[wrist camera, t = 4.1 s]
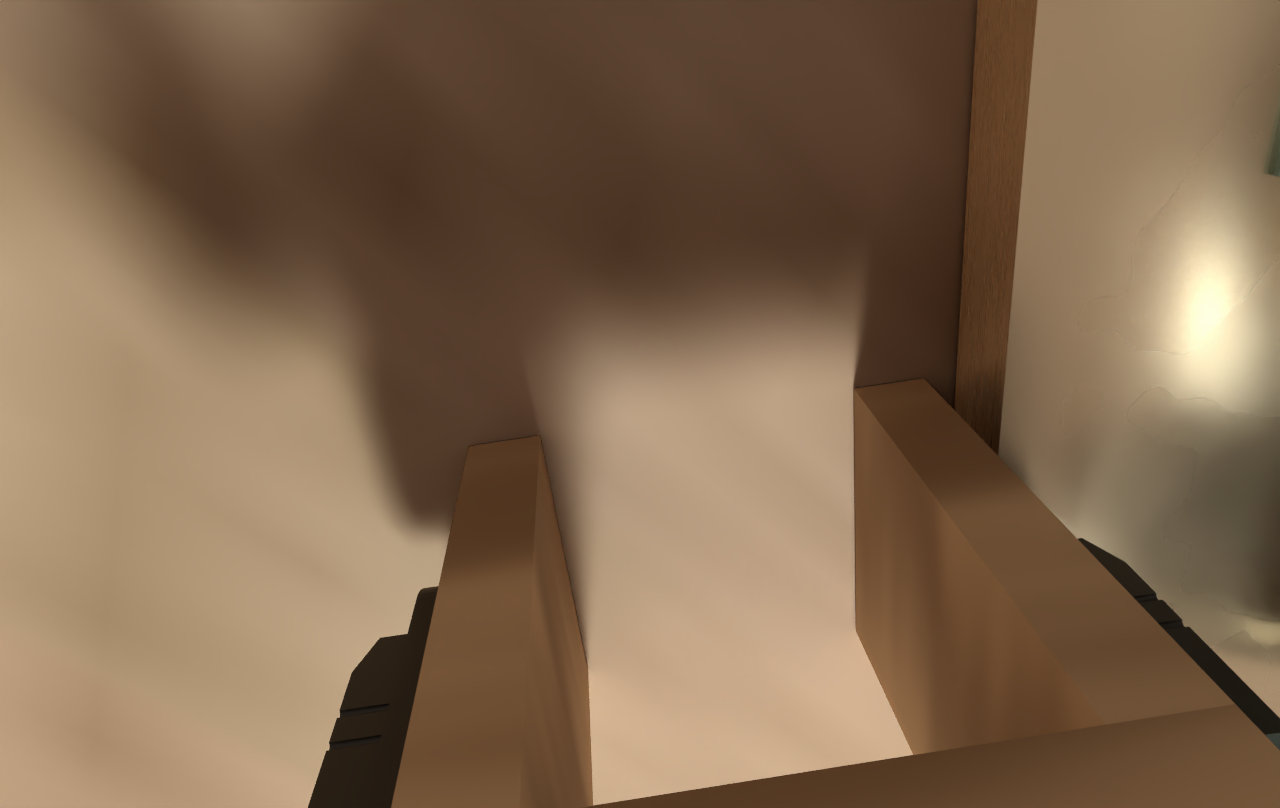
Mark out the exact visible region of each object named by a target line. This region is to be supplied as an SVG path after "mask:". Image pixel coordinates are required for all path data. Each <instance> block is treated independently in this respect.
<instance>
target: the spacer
mask: <svg viewBox="0 0 1280 808" xmlns="http://www.w3.org/2000/svg"><path fill="white" fill-rule="evenodd" d="M854 455H855V568H856V632H857V634H858V636H859V638H860V641H861V643H862V645H863V647H864V649H865V651H866V654H867V656H868V658H869V660H870V662H871V664H872V666H873V669H874V671H875V673H876V675H877V677H878V679H879V682H880V684H881V686H882V688H883V690H884V692H885V694H886V697H887V699H888V701H889V703H890V705H891V707H892V710H893V712H894V714H895V716H896V718H897V720H898V722H899V725H900V727H901V729H902V731H903V733H904V735H905V738H906V740H907V742H908V744H909V746H910V748H911V750H912V753H913V755H911V756H904V757H898V758H892V759H885V760H879V761H873V762H866V763H860V764H854V765H847V766H841V767H835V768H828V769H822V770H816V771H809V772H803V773H797V774H790V775H784V776H778V777H771V778H765V779H759V780H753V781H746V782H740V783H734V784H727V785H721V786H715V787H708V788H702V789H696V790H689V791H683V792H677V793H670V794H664V795H658V796H651V797H645V798H639V799H632V800H626V801H620V802H613V803H607V804H601V805H594V806H593V792H592V764H591V737H590V709H589V681H588V669H587V664H586V659H585V654H584V650H583V645H582V640H581V635H580V630H579V625H578V620H577V615H576V610H575V605H574V600H573V596H572V591H571V586H570V581H569V576H568V571H567V566H566V561H565V556H564V551H563V546H562V542H561V537H560V532H559V527H558V522H557V517H556V512H555V507H554V502H553V497H552V492H551V488H550V483H549V478H548V473H547V468H546V463H545V458H544V453H543V448H542V443H541V438H540V436H534V437H527V438H520V439H514V440H507V441H500V442H494V443H487V444H480V445H473V446H469V447H468V451H467V456H466V461H465V465H464V470H463V475H462V479H461V484H460V489H459V493H458V498H457V503H456V507H455V512H454V517H453V521H452V526H451V531H450V535H449V540H448V545H447V549H446V554H445V559H444V563H443V568H442V573H441V577H440V582H439V587H438V591H437V596H436V601H435V605H434V610H433V615H432V619H431V624H430V629H429V633H428V638H427V643H426V647H425V652H424V657H423V661H422V666H421V671H420V675H419V680H418V685H417V689H416V694H415V699H414V703H413V708H412V712H411V717H410V722H409V726H408V731H407V736H406V740H405V745H404V750H403V754H402V759H401V764H400V768H399V773H398V778H397V782H396V787H395V792H394V796H393V801H392V806H391V808H1280V750H1279V749H1278V748H1277V747H1276V746H1275V745H1274V744H1273V743H1272V742H1271V741H1270V740H1269V739H1268V738H1267V737H1266V736H1265V735H1264V734H1263V733H1262V732H1261V730H1260V729H1259V728H1258V727H1257V726H1256V725H1255V724H1254V723H1253V722H1252V721H1251V720H1250V719H1249V718H1248V717H1247V716H1246V715H1245V714H1244V713H1243V712H1242V711H1241V710H1240V708H1239V707H1238V706H1237V705H1236V704H1235V703H1234V702H1233V701H1232V700H1231V699H1230V698H1229V697H1228V696H1227V695H1226V694H1225V693H1224V692H1223V691H1222V690H1221V689H1220V688H1219V687H1218V685H1217V684H1216V683H1215V682H1214V681H1213V680H1212V679H1211V678H1210V677H1209V676H1208V675H1207V674H1206V673H1205V672H1204V671H1203V670H1202V669H1201V668H1200V667H1199V666H1198V665H1197V664H1196V662H1195V661H1194V660H1193V659H1192V658H1191V657H1190V656H1189V655H1188V654H1187V653H1186V652H1185V651H1184V650H1183V649H1182V648H1181V647H1180V646H1179V645H1178V644H1177V643H1176V642H1175V640H1174V639H1173V638H1172V637H1171V636H1170V635H1169V634H1168V633H1167V632H1166V631H1165V630H1164V629H1163V628H1162V627H1161V626H1160V625H1159V624H1158V623H1157V622H1156V621H1155V620H1154V619H1153V617H1152V616H1151V615H1150V614H1149V613H1148V612H1147V611H1146V610H1145V609H1144V608H1143V607H1142V606H1141V605H1140V604H1139V603H1138V602H1137V601H1136V600H1135V599H1134V598H1133V597H1132V595H1131V594H1130V593H1129V592H1128V591H1127V590H1126V589H1125V588H1124V587H1123V586H1122V585H1121V584H1120V583H1119V582H1118V581H1117V580H1116V579H1115V578H1114V577H1113V576H1112V575H1111V574H1110V572H1109V571H1108V570H1107V569H1106V568H1105V567H1104V566H1103V565H1102V564H1101V563H1100V562H1099V561H1098V560H1097V559H1096V558H1095V557H1094V556H1093V555H1092V554H1091V553H1090V552H1089V551H1088V549H1087V548H1086V547H1085V546H1084V545H1083V544H1082V543H1081V542H1080V541H1079V540H1078V539H1077V538H1076V537H1075V536H1074V535H1073V534H1072V533H1071V532H1070V531H1069V530H1068V529H1067V527H1066V526H1065V525H1064V524H1063V523H1062V522H1061V521H1060V520H1059V519H1058V518H1057V517H1056V516H1055V515H1054V514H1053V513H1052V512H1051V511H1050V510H1049V509H1048V508H1047V507H1046V506H1045V504H1044V503H1043V502H1042V501H1041V500H1040V499H1039V498H1038V497H1037V496H1036V495H1035V494H1034V493H1033V492H1032V491H1031V490H1030V489H1029V488H1028V487H1027V486H1026V485H1025V484H1024V483H1023V481H1022V480H1021V479H1020V478H1019V477H1018V476H1017V475H1016V474H1015V473H1014V472H1013V471H1012V470H1011V469H1010V468H1009V467H1008V466H1007V465H1006V464H1005V463H1004V462H1003V461H1002V459H1001V458H1000V457H999V456H998V455H997V454H996V453H995V452H994V451H993V450H992V449H991V448H990V447H989V446H988V445H987V444H986V443H985V442H984V441H983V440H982V439H981V438H980V436H979V435H978V434H977V433H976V432H975V431H974V430H973V429H972V428H971V427H970V426H969V425H968V424H967V423H966V422H965V421H964V420H963V419H962V418H961V417H960V416H959V414H958V413H957V412H956V411H955V410H954V409H953V408H952V407H951V406H950V405H949V404H948V403H947V402H946V401H945V400H944V399H943V398H942V397H941V396H940V395H939V394H938V393H937V391H936V390H935V389H934V388H933V387H932V386H931V385H930V384H929V383H928V382H927V381H926V380H925V379H924V378H923V379H916V380H909V381H903V382H896V383H889V384H882V385H876V386H869V387H862V388H856V389H854Z"/></svg>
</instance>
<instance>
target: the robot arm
mask: <svg viewBox="0 0 1280 808" xmlns="http://www.w3.org/2000/svg"><path fill="white" fill-rule="evenodd" d="M1078 540H1079V541H1080V542H1081V543H1082V544H1083V545H1084V546H1085V547H1086V548H1087V549H1088V551H1089V552H1090V553H1091V554H1092V555H1093V556H1094V557H1095V558H1096V559H1097V560H1098V561H1099V562H1100V563H1101V564H1102V565H1103V566H1104V567H1105V568H1106V569H1107V570H1108V571H1109V572H1110V574H1111V575H1112V576H1113V577H1114V578H1115V579H1116V580H1117V581H1118V582H1119V583H1120V584H1121V585H1122V586H1123V587H1124V588H1125V589H1126V590H1127V591H1128V592H1129V593H1130V594H1131V595H1132V597H1133V598H1134V599H1135V600H1136V601H1137V602H1138V603H1139V604H1140V605H1141V606H1142V607H1143V608H1144V609H1145V610H1146V611H1147V612H1148V613H1149V614H1150V615H1151V616H1152V617H1153V619H1154V620H1155V621H1156V622H1157V623H1158V624H1159V625H1160V626H1161V627H1162V628H1163V629H1164V630H1165V631H1166V632H1167V633H1168V634H1169V635H1170V636H1171V637H1172V638H1173V639H1174V640H1175V642H1176V643H1177V644H1178V645H1179V646H1180V647H1181V648H1182V649H1183V650H1184V651H1185V652H1186V653H1187V654H1188V655H1189V656H1190V657H1191V658H1192V659H1193V660H1194V661H1195V662H1196V664H1197V665H1198V666H1199V667H1200V668H1201V669H1202V670H1203V671H1204V672H1205V673H1206V674H1207V675H1208V676H1209V677H1210V678H1211V679H1212V680H1213V681H1214V682H1215V683H1216V684H1217V685H1218V687H1219V688H1220V689H1221V690H1222V691H1223V692H1224V693H1225V694H1226V695H1227V696H1228V697H1229V698H1230V699H1231V700H1232V701H1233V702H1234V703H1235V704H1236V705H1237V706H1238V707H1239V708H1240V710H1241V711H1242V712H1243V713H1244V714H1245V715H1246V716H1247V717H1248V718H1249V719H1250V720H1251V721H1252V722H1253V723H1254V724H1255V725H1256V726H1257V727H1258V728H1259V729H1260V730H1261V732H1262V733H1263V734H1264V735H1265V736H1266V737H1267V738H1268V739H1269V740H1270V741H1271V742H1272V743H1273V744H1274V745H1275V746H1276V747H1277V748H1278V749H1279V750H1280V718H1279V717H1278V716H1277V715H1276V714H1275V713H1274V712H1273V711H1272V710H1271V709H1270V708H1269V707H1268V706H1267V705H1266V704H1265V703H1264V702H1263V701H1262V700H1261V699H1260V697H1259V696H1258V695H1257V694H1256V693H1255V692H1254V691H1253V690H1252V689H1251V688H1250V687H1249V686H1248V685H1247V684H1246V683H1245V682H1244V681H1243V680H1242V679H1241V678H1240V677H1239V676H1238V675H1237V674H1236V673H1235V672H1234V671H1233V670H1232V669H1231V668H1230V667H1229V666H1228V665H1227V664H1226V663H1225V662H1224V661H1223V660H1222V659H1221V658H1220V657H1219V656H1218V655H1217V654H1216V653H1215V652H1214V651H1213V650H1212V649H1211V648H1210V647H1209V646H1208V645H1207V644H1206V643H1205V642H1204V641H1203V640H1202V639H1201V638H1200V637H1199V636H1198V635H1197V634H1196V633H1195V632H1194V631H1193V630H1192V629H1191V628H1190V627H1185V626H1184V625H1183V622H1182V619H1181V618H1180V617H1179V616H1178V615H1177V614H1176V613H1175V612H1174V611H1173V610H1172V609H1171V608H1170V607H1169V606H1168V604H1167V603H1166V602H1165V601H1164V600H1158V599H1157V596H1156V592H1155V591H1154V590H1153V589H1152V588H1151V587H1150V586H1149V585H1148V584H1147V583H1146V582H1145V581H1144V580H1143V579H1142V578H1141V577H1140V576H1139V575H1138V574H1137V573H1136V572H1135V571H1134V570H1133V569H1132V568H1131V567H1130V566H1129V565H1128V564H1127V563H1126V562H1125V561H1123V560H1121V559H1119V558H1117V557H1116V556H1114V555H1112V554H1110V553H1108V552H1107V551H1105V550H1103V549H1101V548H1099V547H1098V546H1096V545H1094V544H1092V543H1090V542H1089V541H1087V540H1085V539H1083V538H1078ZM438 587H439V586H437V587H430V588H423V589H421V590H420V592H419V593H418V596H417V600H416V603H415V607H414V611H413V615H412V619H411V623H410V627H409V631H408V634H404V635H397V636H390V637H384V638H380V639H379V640H378V641H377V642H376V644H375V645H374V646H373V647H372V649H371V650H370V651H369V652H368V653H367V655H366V656H365V657H364V658H363V660H362V661H361V662H360V663H359V665H358V666H357V667H356V668H355V670H354V671H353V672H352V674H351V677H350V680H349V683H348V686H347V689H346V692H345V696H344V699H343V702H342V705H341V708H340V718H337V720H336V723H335V726H334V729H333V732H332V735H331V738H330V741H329V744H330V749H329V751H326V754H325V757H324V760H323V763H322V766H321V769H320V772H319V775H318V778H317V781H316V784H315V787H314V790H313V793H312V796H311V800H310V803H309V806H308V808H391V806H392V801H393V796H394V792H395V787H396V782H397V778H398V773H399V768H400V764H401V759H402V754H403V750H404V745H405V740H406V736H407V731H408V726H409V722H410V717H411V712H412V708H413V703H414V699H415V694H416V689H417V685H418V680H419V675H420V671H421V666H422V661H423V657H424V652H425V647H426V643H427V638H428V633H429V629H430V624H431V619H432V615H433V610H434V605H435V601H436V596H437V591H438Z"/></svg>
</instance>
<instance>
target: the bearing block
mask: <svg viewBox="0 0 1280 808" xmlns="http://www.w3.org/2000/svg"><path fill="white" fill-rule="evenodd" d="M954 410H955V411H956V412H957V413H958V414H959V416H960V417H961V418H962V419H963V420H964V421H965V422H966V423H967V424H968V425H969V426H970V427H971V428H972V429H973V430H974V431H975V432H976V433H977V434H978V435H979V436H980V438H981V439H982V440H983V441H984V442H985V443H986V444H987V445H988V446H989V447H990V448H991V449H992V450H993V451H994V452H995V453H996V454H997V455H998V456H999V457H1000V458H1001V459H1002V461H1003V462H1004V463H1005V464H1006V465H1007V466H1008V467H1009V468H1010V469H1011V470H1012V471H1013V472H1014V473H1015V474H1016V475H1017V476H1018V477H1019V478H1020V479H1021V480H1022V481H1023V483H1024V484H1025V485H1026V486H1027V487H1028V488H1029V489H1030V490H1031V491H1032V492H1033V493H1034V494H1035V495H1036V496H1037V497H1038V498H1039V499H1040V500H1041V501H1042V502H1043V503H1044V504H1045V506H1046V507H1047V508H1048V509H1049V510H1050V511H1051V512H1052V513H1053V514H1054V515H1055V516H1056V517H1057V518H1058V519H1059V520H1060V521H1061V522H1062V523H1063V524H1064V525H1065V526H1066V527H1067V529H1068V530H1069V531H1070V532H1071V533H1072V534H1073V535H1074V536H1075V537H1076V538H1077V539H1078V538H1083V539H1085V540H1087V541H1089V542H1090V543H1092V544H1094V545H1096V546H1098V547H1099V548H1101V549H1103V550H1105V551H1107V552H1108V553H1110V554H1112V555H1114V556H1116V557H1117V558H1119V559H1121V560H1123V561H1125V562H1126V563H1127V564H1128V565H1129V566H1130V567H1131V568H1132V569H1133V570H1134V571H1135V572H1136V573H1137V574H1138V575H1139V576H1140V577H1141V578H1142V579H1143V580H1144V581H1145V582H1146V583H1147V584H1148V585H1149V586H1150V587H1151V588H1152V589H1153V590H1154V591H1155V592H1156V596H1157V599H1158V600H1164V601H1165V602H1166V603H1167V604H1168V606H1169V607H1170V608H1171V609H1172V610H1173V611H1174V612H1175V613H1176V614H1177V615H1178V616H1179V617H1180V618H1181V619H1182V622H1183V625H1184V626H1185V627H1190V628H1191V629H1192V630H1193V631H1194V632H1195V633H1196V634H1197V635H1198V636H1199V637H1200V638H1201V639H1202V640H1203V641H1204V642H1205V643H1206V644H1207V645H1208V646H1209V647H1210V648H1211V649H1212V650H1213V651H1214V652H1215V653H1216V654H1217V655H1218V656H1219V657H1220V658H1221V659H1222V660H1223V661H1224V662H1225V663H1226V664H1227V665H1228V666H1229V667H1230V668H1231V669H1232V670H1233V671H1234V672H1235V673H1236V674H1237V675H1238V676H1239V677H1240V678H1241V679H1242V680H1243V681H1244V682H1245V683H1246V684H1247V685H1248V686H1249V687H1250V688H1251V689H1252V690H1253V691H1254V692H1255V693H1256V694H1257V695H1258V696H1259V697H1260V699H1261V700H1262V701H1263V702H1264V703H1265V704H1266V705H1267V706H1268V707H1269V708H1270V709H1271V710H1272V711H1273V712H1274V713H1275V714H1276V715H1277V716H1278V717H1279V718H1280V0H978V4H977V22H976V39H975V57H974V74H973V92H972V109H971V127H970V144H969V162H968V179H967V197H966V214H965V232H964V249H963V267H962V284H961V302H960V319H959V337H958V354H957V372H956V389H955V407H954Z"/></svg>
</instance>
